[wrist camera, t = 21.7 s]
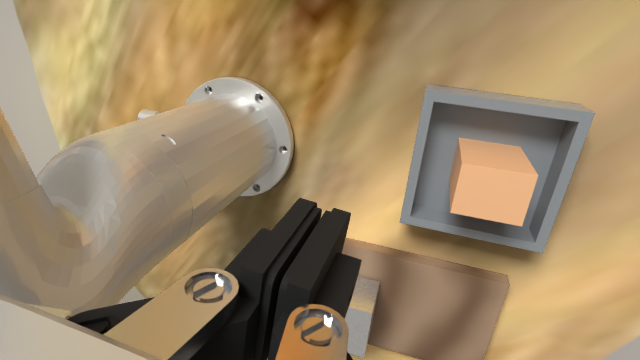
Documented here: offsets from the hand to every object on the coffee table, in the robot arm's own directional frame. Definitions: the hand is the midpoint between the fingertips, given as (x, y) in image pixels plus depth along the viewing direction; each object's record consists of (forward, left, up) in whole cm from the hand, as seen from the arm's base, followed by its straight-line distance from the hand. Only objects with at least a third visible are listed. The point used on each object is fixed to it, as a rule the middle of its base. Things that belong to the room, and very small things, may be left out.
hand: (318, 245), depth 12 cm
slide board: (+2, -21, -26) cm, 33 cm away
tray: (+8, -4, -26) cm, 27 cm away
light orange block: (+8, -4, -25) cm, 26 cm away
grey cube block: (-2, -21, -24) cm, 32 cm away
